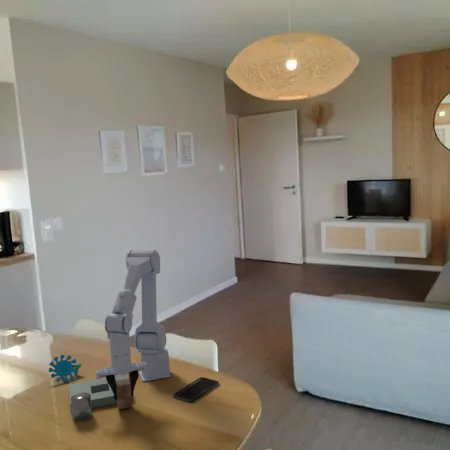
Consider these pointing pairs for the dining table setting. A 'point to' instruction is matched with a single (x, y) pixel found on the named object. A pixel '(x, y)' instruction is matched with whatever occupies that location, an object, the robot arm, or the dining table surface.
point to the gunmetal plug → (81, 406)
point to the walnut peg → (123, 394)
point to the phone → (196, 389)
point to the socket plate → (96, 391)
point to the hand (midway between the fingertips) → (123, 397)
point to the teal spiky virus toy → (64, 368)
